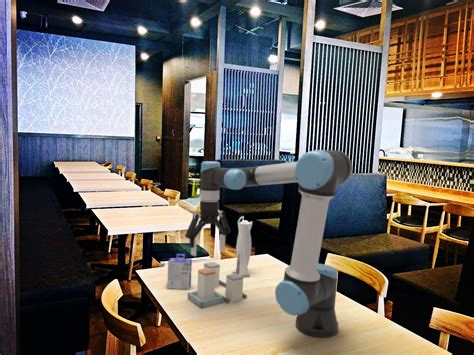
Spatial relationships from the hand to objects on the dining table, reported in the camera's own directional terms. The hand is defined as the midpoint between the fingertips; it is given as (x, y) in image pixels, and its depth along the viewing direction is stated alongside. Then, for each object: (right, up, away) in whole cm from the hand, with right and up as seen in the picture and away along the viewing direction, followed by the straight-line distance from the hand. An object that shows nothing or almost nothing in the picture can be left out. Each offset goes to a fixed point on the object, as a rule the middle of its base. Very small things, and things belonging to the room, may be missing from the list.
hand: (208, 252), depth 163 cm
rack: (+5, -19, +12) cm, 23 cm away
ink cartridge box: (-14, -18, +16) cm, 27 cm away
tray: (-1, -20, +3) cm, 20 cm away
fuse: (-1, -19, +2) cm, 20 cm away
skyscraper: (+14, -17, +35) cm, 42 cm away
